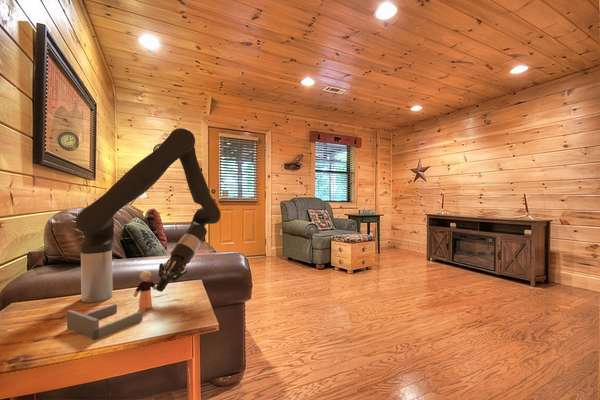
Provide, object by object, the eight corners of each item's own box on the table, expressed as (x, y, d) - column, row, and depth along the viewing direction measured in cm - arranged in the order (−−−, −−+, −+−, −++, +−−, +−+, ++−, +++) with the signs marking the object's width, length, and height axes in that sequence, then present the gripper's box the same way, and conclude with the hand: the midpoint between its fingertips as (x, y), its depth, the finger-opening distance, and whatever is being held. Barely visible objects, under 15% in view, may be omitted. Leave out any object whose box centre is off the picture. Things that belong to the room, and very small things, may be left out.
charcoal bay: (67, 328, 80) (66, 310, 80) (115, 311, 92) (114, 296, 92) (94, 339, 74) (94, 320, 74) (142, 320, 85) (142, 303, 85)
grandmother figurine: (142, 314, 90) (141, 274, 90) (132, 313, 91) (131, 273, 90) (159, 305, 97) (159, 268, 97) (150, 303, 98) (149, 267, 98)
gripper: (168, 241, 109) (138, 282, 98) (193, 243, 103) (164, 287, 92) (180, 252, 114) (152, 292, 103) (204, 255, 108) (178, 298, 97)
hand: (158, 290), depth 98 cm, fingers closed
